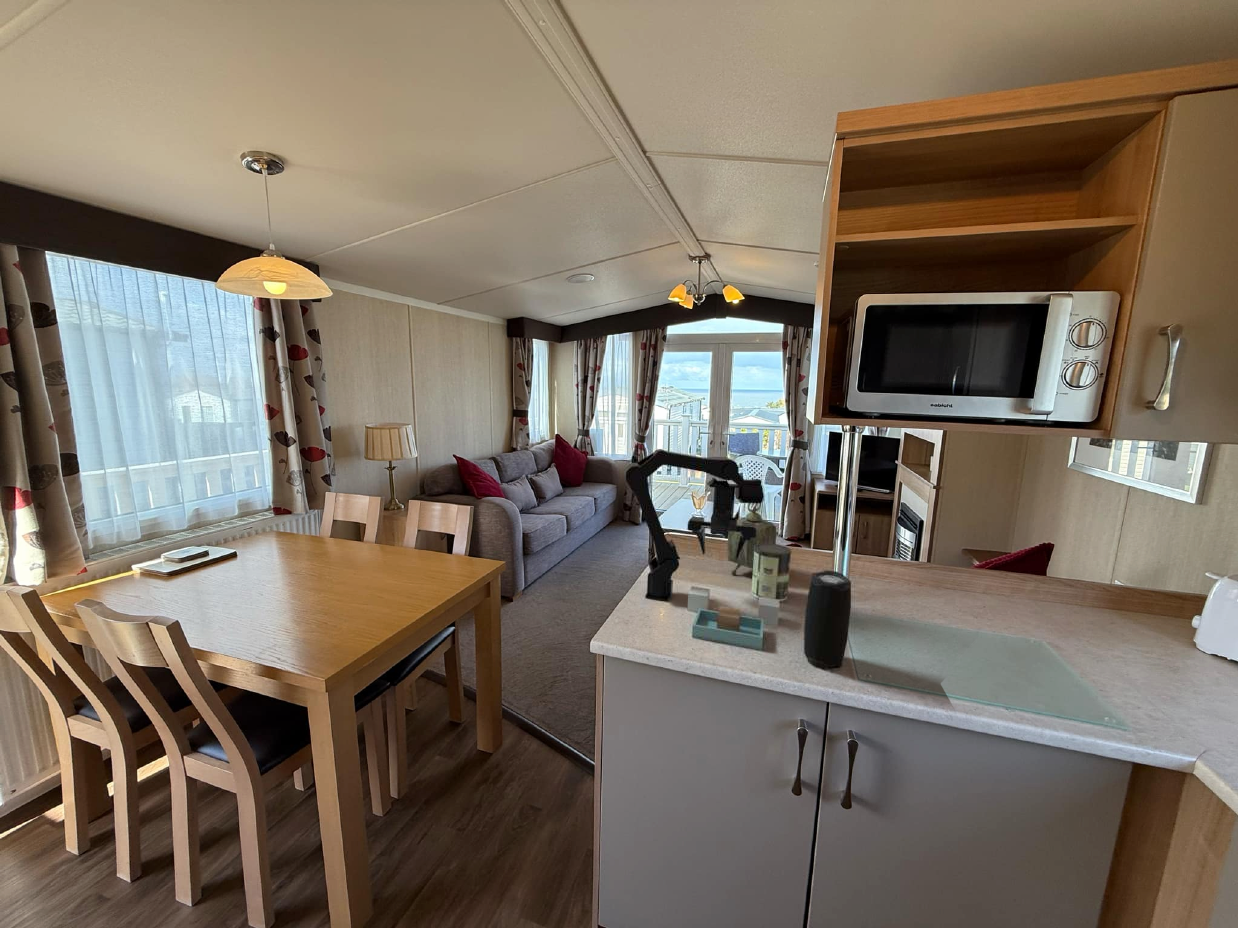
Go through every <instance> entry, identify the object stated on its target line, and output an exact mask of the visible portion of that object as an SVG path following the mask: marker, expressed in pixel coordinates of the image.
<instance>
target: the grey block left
mask: <svg viewBox="0 0 1238 928" xmlns="http://www.w3.org/2000/svg"><path fill="white" fill-rule="evenodd" d="M710 592H711V589H710V588H704V587H698V586H691V587H690V589H689V591H688V593H687V594H688V595H687V596H688V597H687V598H688V599H687V611H688V612H692V613H693V612H694V613H697V612H698V610H699V609H704V610H709V608H710V595H711V593H710Z"/></svg>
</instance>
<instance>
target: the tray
mask: <svg viewBox="0 0 1238 928" xmlns="http://www.w3.org/2000/svg"><path fill="white" fill-rule="evenodd" d="M718 612H719V611H715V610H711V609H708V610H704V609H699V610H698V612H696V615H695V618H694V621H693V623H692V630H691V631H692V632H691V637H692V638H694V639H700V640H705V641H706V640H707V641H710V642H717V643H721V642H722V643H723V644H726V645H727V644H728V645H732V646H738V647H743V648H748V649H755V650H760V651H762V649H763V637H764V636H763V635H764V619H758V617H752V616H751V617H750V616H746V615H740V628H739V632H735V631H729V630H723V629H718V628H717V617H718ZM722 643H721V644H722Z"/></svg>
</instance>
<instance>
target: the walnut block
mask: <svg viewBox="0 0 1238 928" xmlns="http://www.w3.org/2000/svg"><path fill="white" fill-rule="evenodd" d="M741 611H742V610H741V609H739V608H735V607H734V608H732V607H726V606H722V605H721V606H719V609H718V611H717V612H718V617H717V628H718V629H723V630H729V631H735V632H739V628H740V616H741Z"/></svg>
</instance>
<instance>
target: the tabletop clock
mask: <svg viewBox="0 0 1238 928" xmlns="http://www.w3.org/2000/svg"><path fill="white" fill-rule="evenodd" d="M751 504H752V503H747V510H748V511H749V513H747V514H746V516H745V517H741V518H737V525H741V526H742V524H743V522H746V523H755V524H756V525H757V533H756V538H751V540H746V542H745V543H744V545H743V547H742V549H741V551H740V554H739V556H738V559H736V553H737V548H738V543H739V539H740V535H741V532H734V531H729V534H728V535H727V544H726V545H727V546H726V547H727V549H726V553H727V560H728V561H729V562H731V563H734V564H737V565H736V567H735V569H732V570H731V572H730V573H731V575H732V576H736V574H737V570H738V569H739V568H740V567H742V566H743V567H746V568H748V569H753V563H754V546H755V545H757V544H761V543H771V544H777V526H776V525H775V524H774V523H773V522H771V521H767V520H765V519H763V518H762V516H761V514H760V513H758V512H757V511H759V510H760V508H761V507H762V503H761V504H760V503H759V505H758V507H756V506H753V507H752V509H751V508H750V506H751Z"/></svg>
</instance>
